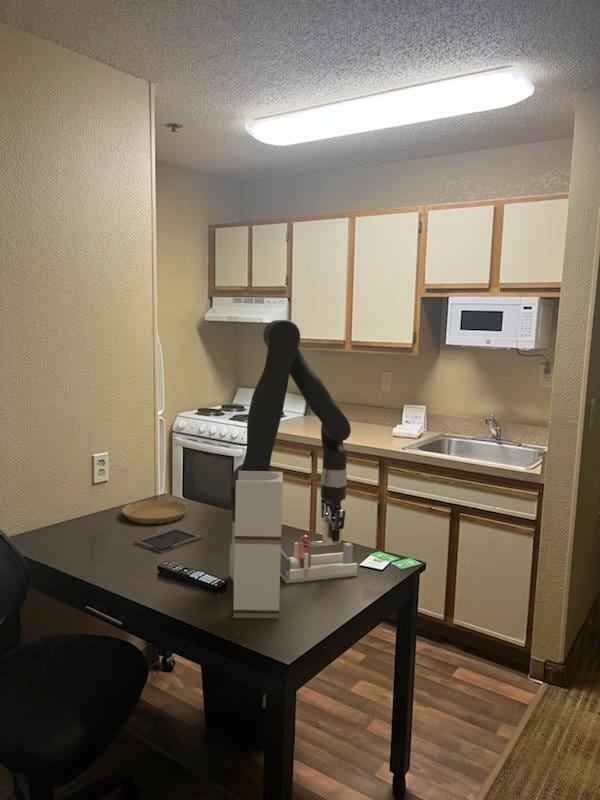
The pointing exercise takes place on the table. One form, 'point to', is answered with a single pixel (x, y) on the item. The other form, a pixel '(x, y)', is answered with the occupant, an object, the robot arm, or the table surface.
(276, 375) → the robot arm
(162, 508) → the plant saucer
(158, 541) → the picture frame
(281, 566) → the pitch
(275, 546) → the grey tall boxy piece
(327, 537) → the striker
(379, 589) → the table surface
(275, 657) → the table surface
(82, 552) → the table surface
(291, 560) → the ball
